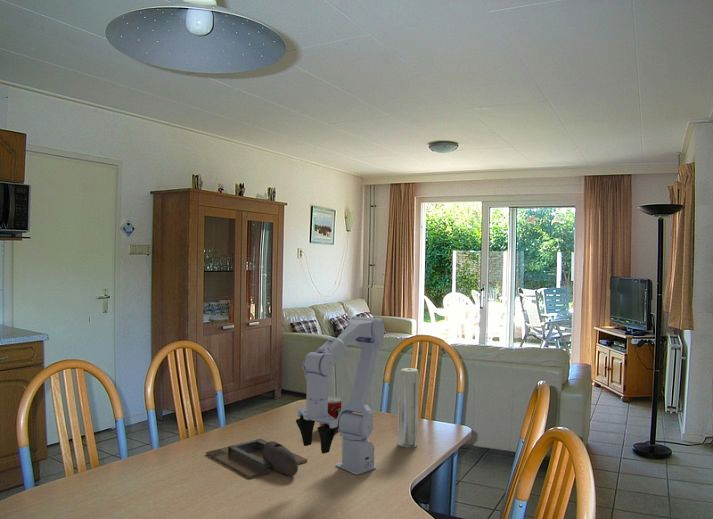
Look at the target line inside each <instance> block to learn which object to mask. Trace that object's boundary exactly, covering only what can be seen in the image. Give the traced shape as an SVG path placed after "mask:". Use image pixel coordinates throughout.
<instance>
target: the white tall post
mask: <svg viewBox="0 0 713 519" xmlns="http://www.w3.org/2000/svg"><path fill="white" fill-rule="evenodd" d="M419 374H420V372H419V369H417V368H412V367H406V368H401V369H400V371H399V372H398V407H397V408H398V413H397V414H398V417H397V418H398V419H397V421H398V422H397V446H399V447H401V448H405V449H411V448H416V447H417V446H418V445H419V444H418V442H419V439H418V436H419V434H418V433H419V432H418V431H419V386H420V385H419V381H420V380H419V379H420V375H419Z"/></svg>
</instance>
